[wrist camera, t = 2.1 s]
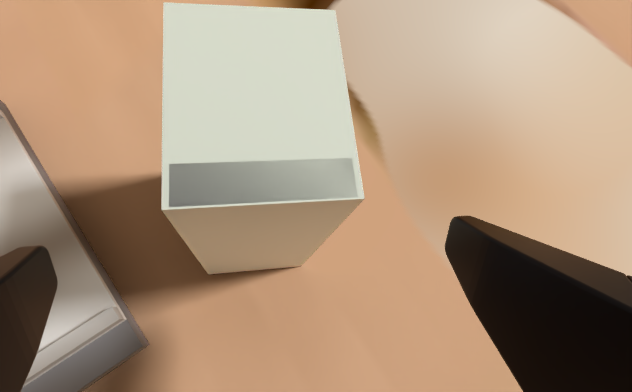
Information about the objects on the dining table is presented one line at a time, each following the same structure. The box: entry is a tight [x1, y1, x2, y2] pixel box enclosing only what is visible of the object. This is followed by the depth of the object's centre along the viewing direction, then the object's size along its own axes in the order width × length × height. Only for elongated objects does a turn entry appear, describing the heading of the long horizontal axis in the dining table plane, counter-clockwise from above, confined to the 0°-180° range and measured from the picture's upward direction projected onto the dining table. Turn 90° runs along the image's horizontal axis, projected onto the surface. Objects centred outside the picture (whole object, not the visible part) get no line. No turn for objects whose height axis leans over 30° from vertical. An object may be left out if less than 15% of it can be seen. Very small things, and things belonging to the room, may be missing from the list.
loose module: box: [161, 3, 365, 274], centre depth 15 cm, size 6×4×11 cm
